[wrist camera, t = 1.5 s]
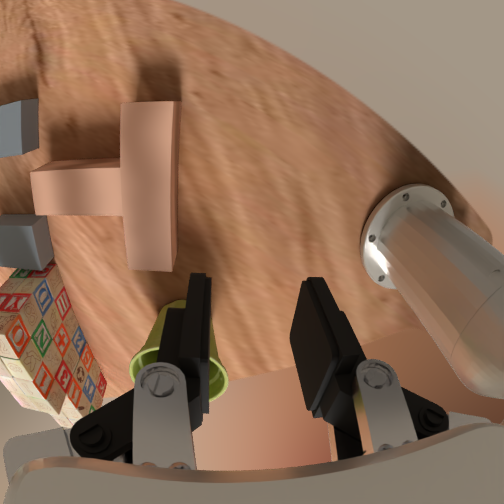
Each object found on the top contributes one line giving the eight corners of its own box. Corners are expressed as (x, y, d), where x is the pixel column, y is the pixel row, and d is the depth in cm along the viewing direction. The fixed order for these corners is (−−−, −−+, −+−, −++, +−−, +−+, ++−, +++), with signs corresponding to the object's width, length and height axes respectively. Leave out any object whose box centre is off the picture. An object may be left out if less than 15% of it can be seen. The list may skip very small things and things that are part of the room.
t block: (181, 101, 22) (173, 101, 19) (177, 249, 29) (172, 271, 25) (50, 111, 21) (27, 115, 17) (62, 244, 27) (45, 263, 24)
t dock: (38, 98, 20) (20, 100, 17) (54, 256, 28) (42, 270, 25) (-8, 110, 19) (-26, 113, 16) (11, 253, 27) (-2, 266, 24)
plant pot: (216, 353, 36) (216, 411, 28) (142, 339, 34) (129, 395, 27) (235, 296, 32) (240, 357, 24) (149, 278, 30) (129, 336, 22)
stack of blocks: (108, 383, 39) (91, 451, 28) (75, 379, 38) (54, 443, 27) (57, 261, 28) (3, 335, 17) (19, 263, 28) (-35, 329, 17)
